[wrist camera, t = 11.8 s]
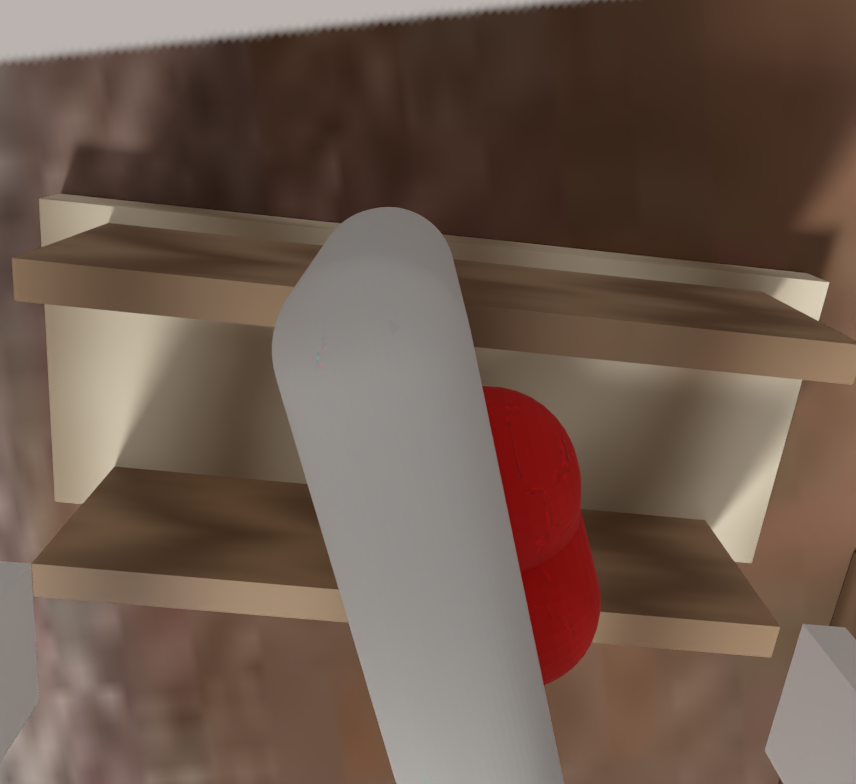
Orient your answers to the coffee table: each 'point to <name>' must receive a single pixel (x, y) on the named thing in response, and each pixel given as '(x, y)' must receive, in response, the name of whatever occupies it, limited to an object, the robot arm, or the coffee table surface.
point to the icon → (435, 507)
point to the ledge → (499, 367)
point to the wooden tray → (846, 604)
